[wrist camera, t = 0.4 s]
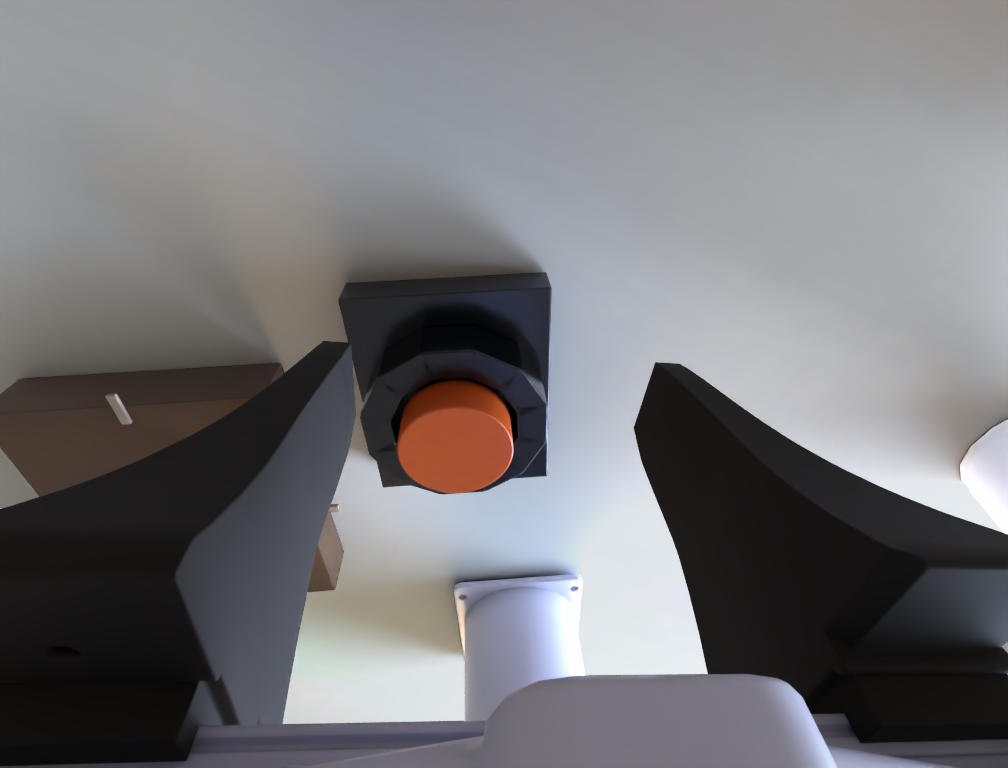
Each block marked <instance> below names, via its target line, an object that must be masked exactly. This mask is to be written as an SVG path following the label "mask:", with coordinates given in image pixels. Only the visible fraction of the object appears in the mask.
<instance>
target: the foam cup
mask: <svg viewBox="0 0 1008 768" xmlns="http://www.w3.org/2000/svg"><path fill="white" fill-rule="evenodd" d="M960 473H961V480H962V481H963V482H964V483H965V484H966V485H967V486H968V490H969V491H970V492H971V493H972V494H973V496H974V497H975V498H976V499H977V501H978V502H979V503H980V504H981V505H982V507H983V508H984V509H985V510H986V512H987V513H988V514H989V515H990V516H991V518H992V519H993V520H994V521H995V523H996V524H997V525H998V526H999V527H1000V529H1001V530H1002V531H1003V532H1004V533H1005V534H1008V420H1006V421H1004V422H1002V423H1000V424H998V425H996V426H994V427H993V428H991V429H990V430H989V431H988V432H987V433H986V434H985V435H983V436H982V437H981V438H980V439H979V440H978V441H976V442H975V443H974V444H973V445H972V446H971V447H970V449H969V450H968V452H967V454H966V455H965V457H964V459H963V461H962V462H961V464H960Z"/></svg>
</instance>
